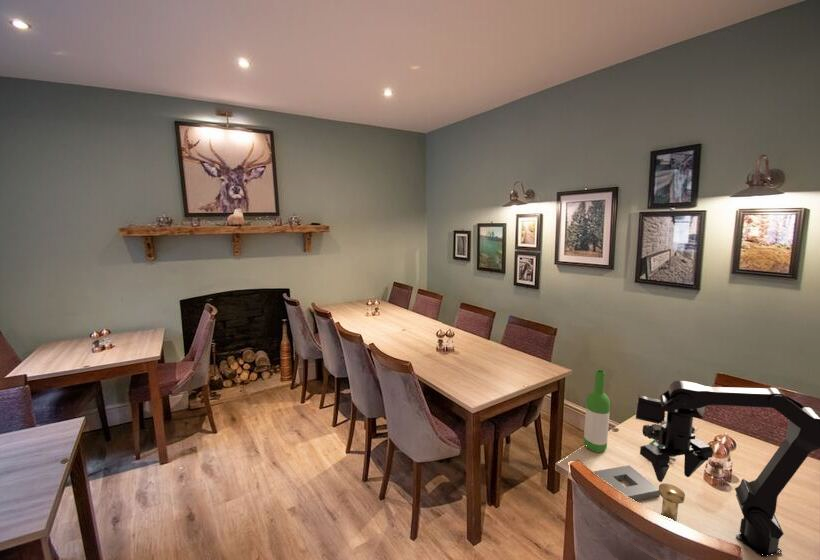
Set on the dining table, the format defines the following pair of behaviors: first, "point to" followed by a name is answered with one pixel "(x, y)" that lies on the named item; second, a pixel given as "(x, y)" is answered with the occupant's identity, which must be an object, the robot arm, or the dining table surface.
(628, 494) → the housing plate
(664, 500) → the door knob
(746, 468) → the dining table surface
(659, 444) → the blue plastic angular piece
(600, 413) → the wine bottle
